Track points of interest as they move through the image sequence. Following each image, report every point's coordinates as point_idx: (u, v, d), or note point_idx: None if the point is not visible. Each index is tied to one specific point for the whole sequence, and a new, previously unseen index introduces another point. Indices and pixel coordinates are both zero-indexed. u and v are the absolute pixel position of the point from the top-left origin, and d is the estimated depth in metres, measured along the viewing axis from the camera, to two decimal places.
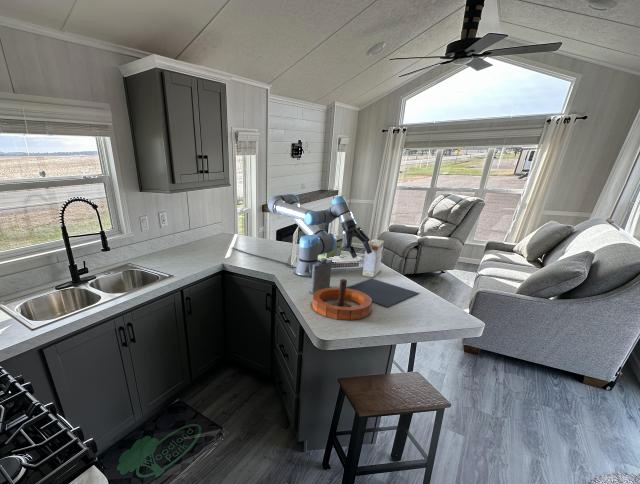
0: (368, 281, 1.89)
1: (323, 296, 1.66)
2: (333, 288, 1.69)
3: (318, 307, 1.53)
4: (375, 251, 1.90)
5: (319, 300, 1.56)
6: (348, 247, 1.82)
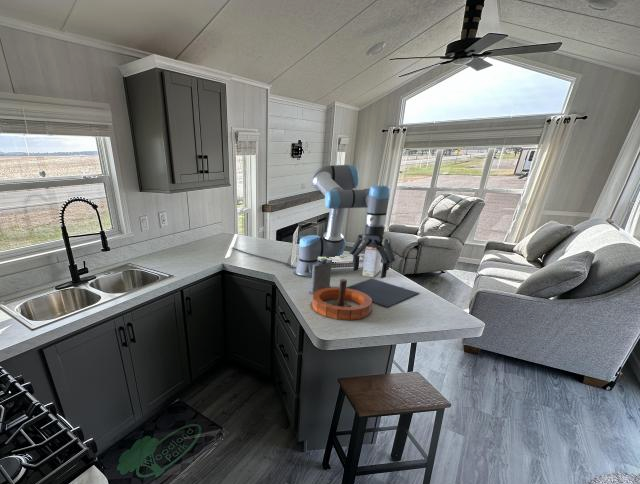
0: (368, 281, 1.89)
1: (323, 296, 1.66)
2: (333, 288, 1.69)
3: (318, 307, 1.53)
4: (375, 251, 1.90)
5: (319, 300, 1.56)
6: None
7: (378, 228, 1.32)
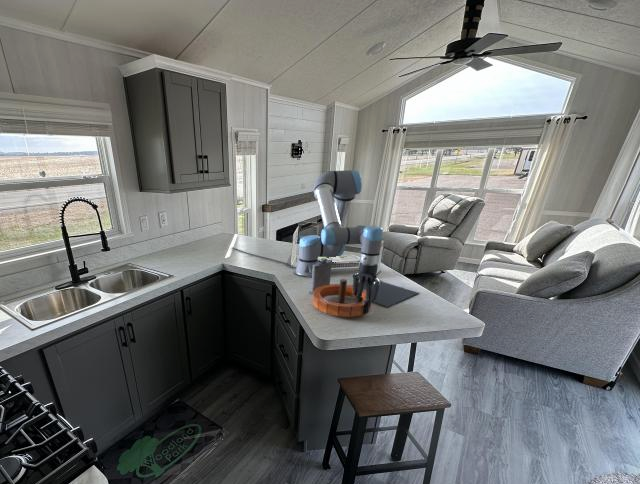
0: None
1: (323, 293, 1.66)
2: (333, 285, 1.68)
3: (318, 304, 1.53)
4: None
5: (319, 297, 1.55)
6: None
7: (371, 267, 1.37)
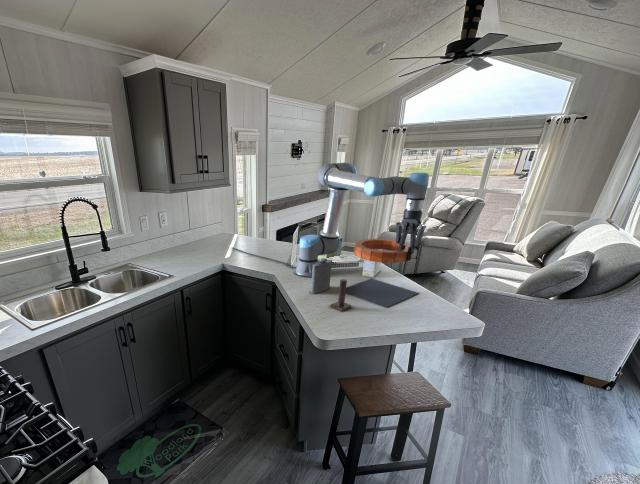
0: (368, 281, 1.89)
1: (364, 246, 1.73)
2: (373, 239, 1.75)
3: (362, 253, 1.60)
4: None
5: (362, 247, 1.62)
6: None
7: (416, 212, 1.44)
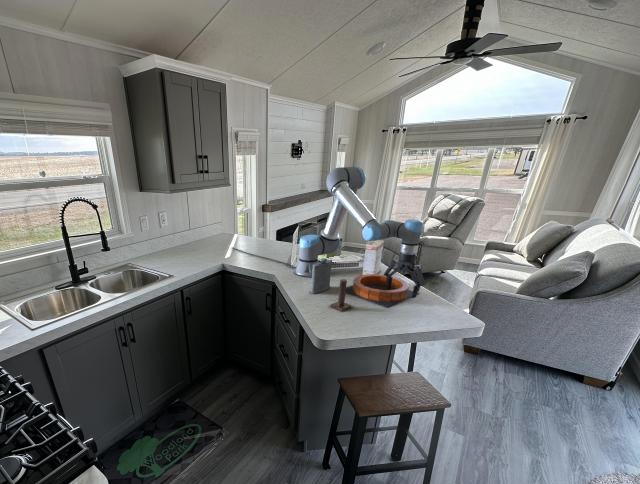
0: None
1: (362, 282, 1.82)
2: (370, 275, 1.85)
3: (360, 291, 1.69)
4: (375, 251, 1.90)
5: (360, 284, 1.71)
6: None
7: (411, 256, 1.54)
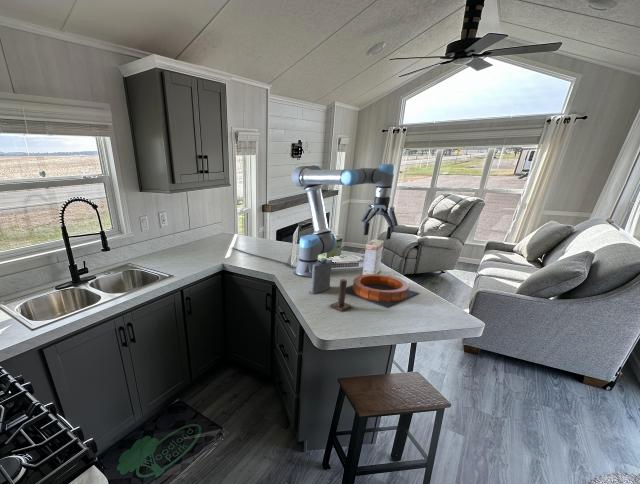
0: None
1: (362, 282, 1.82)
2: (370, 275, 1.85)
3: (360, 291, 1.69)
4: (375, 251, 1.90)
5: (360, 284, 1.71)
6: None
7: (384, 198, 1.66)
